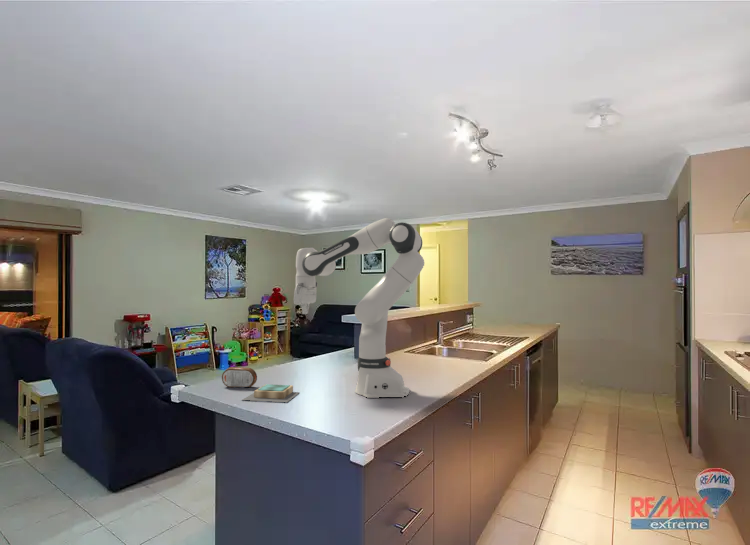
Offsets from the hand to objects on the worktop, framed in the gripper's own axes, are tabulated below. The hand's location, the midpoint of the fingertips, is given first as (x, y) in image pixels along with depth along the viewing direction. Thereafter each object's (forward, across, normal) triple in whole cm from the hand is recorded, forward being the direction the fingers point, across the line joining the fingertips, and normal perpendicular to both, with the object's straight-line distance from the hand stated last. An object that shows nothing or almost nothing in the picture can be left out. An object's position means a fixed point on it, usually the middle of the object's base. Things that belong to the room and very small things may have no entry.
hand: (305, 313), depth 168 cm
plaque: (+30, -14, +6) cm, 33 cm away
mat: (+31, -21, +6) cm, 38 cm away
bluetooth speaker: (+31, -10, +26) cm, 42 cm away
